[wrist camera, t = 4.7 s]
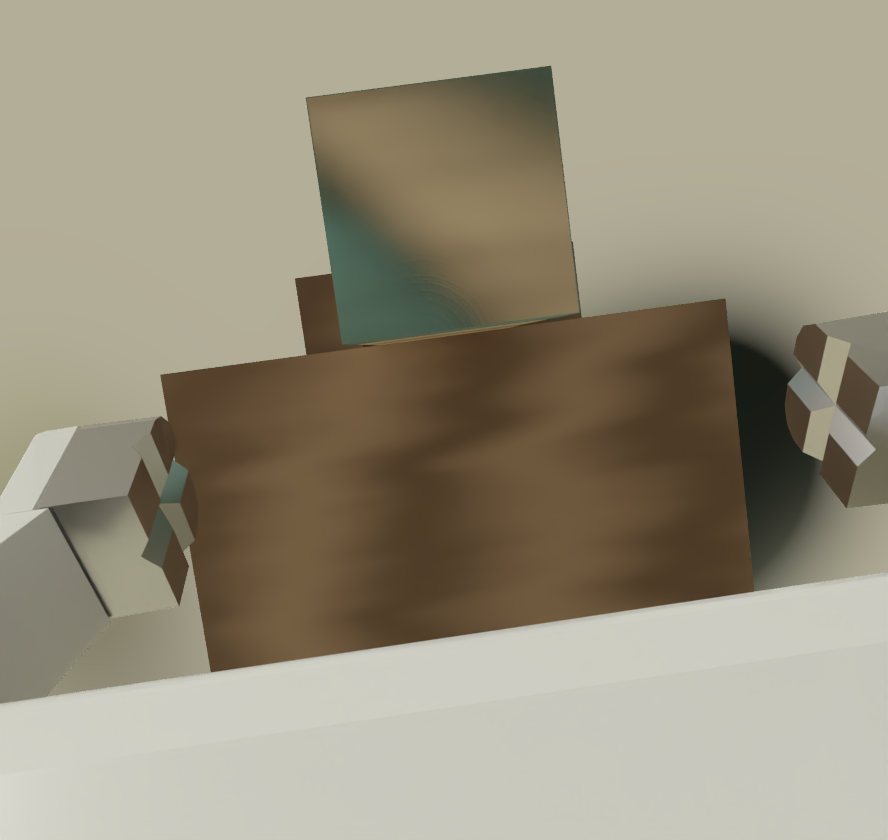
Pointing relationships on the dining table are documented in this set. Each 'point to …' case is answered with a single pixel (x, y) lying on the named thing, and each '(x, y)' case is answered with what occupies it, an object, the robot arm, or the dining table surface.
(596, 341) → the walnut mount
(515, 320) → the oak bar
